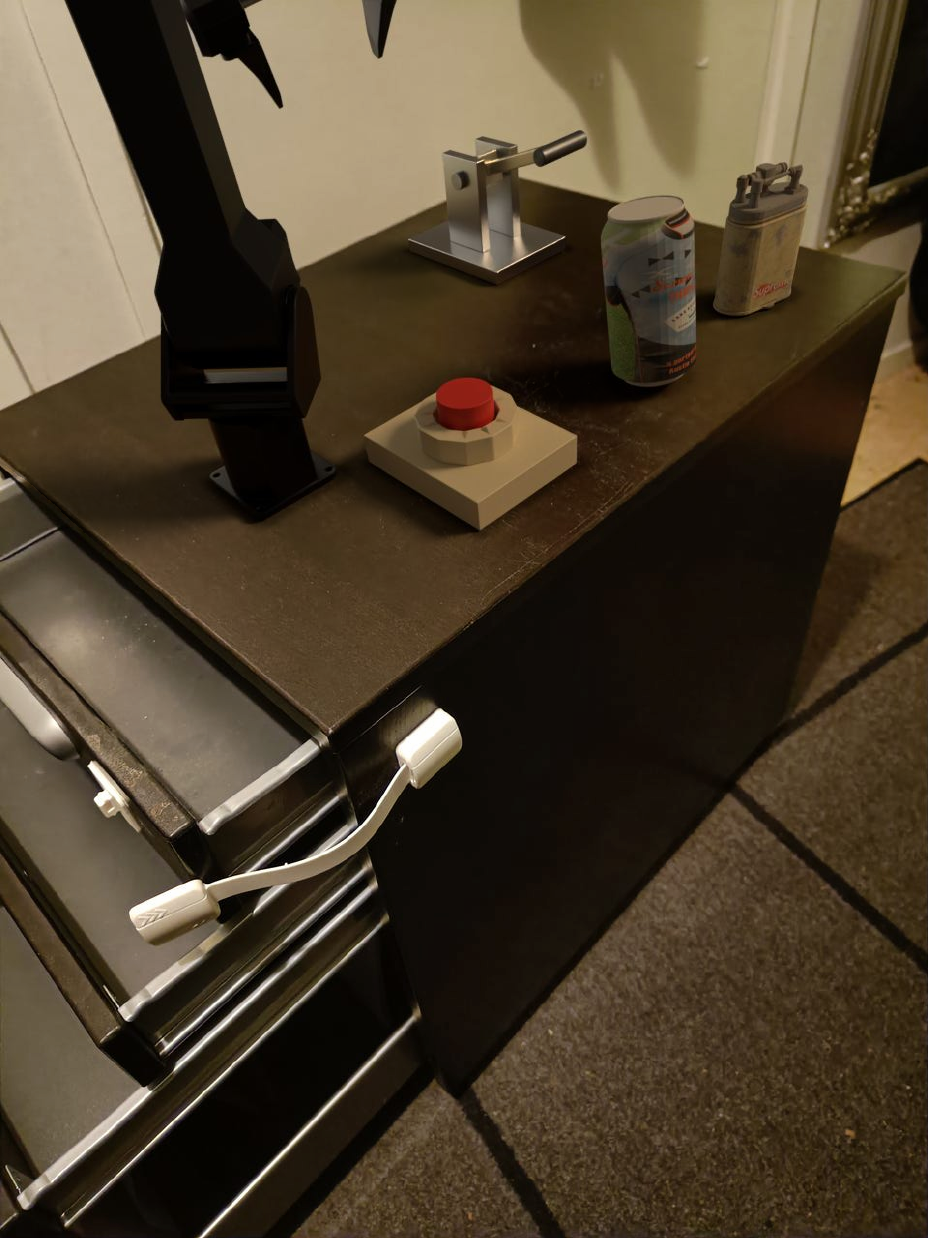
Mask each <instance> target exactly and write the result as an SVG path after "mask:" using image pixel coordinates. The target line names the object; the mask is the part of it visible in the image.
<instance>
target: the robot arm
mask: <svg viewBox="0 0 928 1238" xmlns="http://www.w3.org/2000/svg"><path fill="white" fill-rule="evenodd" d="M63 1H64V3H65V5H66V9H67V11H68V13H69V15H70V18H71V20H72V23H73V25H74V28H75V30H76V32H77V36H78V37H79V39H80V42H81V44H82V47H83V50H84V52H85V54H86V57H87V59H88V61H89V64H90V66H91V70H92V72H93V74H94V77H95V79H96V81H97V84H98V86H99V88H100V91H101V94H102V96H103V98H104V101H105V103H106V106H107V107H108V108H107V109H108V110H109V113H110V116H111V118H112V120H113V122H114V125H115V127H116V130H117V132H118V135H119V137H120V140H121V142H122V144H123V147H124V150H125V152H126V154H127V157H128V159H129V162H130V164H131V167H132V168H133V171H134V174H135V176H136V179H137V181H138V184H139V186H140V188H141V191H142V193H143V196H144V198H145V201H146V203H147V205H148V208H149V211H150V213H151V215H152V218H153V220H154V223H155V226H156V227H157V230H158V233H159V236H160V238H161V241H162V247H161V252H160V257H159V263H158V267H157V273H156V278H155V284H154V289H153V295H154V299H155V301H156V304H157V306H158V310H159V313H160V401H161V403H162V405H163V407H164V408H165V409H166V411H167V412H168V413H169V415H170V416H171V418H172V419H173V420H174V422H183V421H185V420H207V423H208V425H209V427H210V430H211V434H212V435H213V438H214V442H215V444H216V447H217V449H218V452H219V455H220V457H221V460H222V463H223V466H222V467H220V468H218V469H217V470H215V471H212V472H211V473H210V474H209V481H210V483H211V484H212V485H213V486H215V487H216V488H217V489H219V490H220V491H221V492H222V493H224V494H225V495H226V496H228V497H229V498H230V499H232V500H233V501H234V502H235V503H237V504H238V505H239V506H240V507H242V508H243V509H244V510H246V511H247V512H248V513H250V514H251V515H252V516H253V517H255V518H256V519H258V520H265V519H267V518H269V517H270V516H272V515H274V514H275V513H277V512H279V511H281V510H282V509H283V508H285V507H287V506H289V505H291V504H292V503H294V502H296V501H297V500H299V499H301V498H302V497H304V496H305V495H307V494H309V493H310V492H312V491H314V490H315V489H317V488H319V487H320V486H323V485H324V484H325V483H327V482H328V481H331V480H332V479H334V478H336V477H337V475H338V469H337V466H336V465H334V464H333V463H331V462H330V461H328V460H327V459H326V458H324V457H322V456H320V455H319V454H317V453H316V452H314V451H313V450H311V447H310V443H309V439H308V436H307V432H306V429H305V425H304V421H303V419H306V418H307V416H308V413H309V411H310V409H311V407H312V404H313V401H314V398H315V396H316V393H317V391H318V389H319V386H320V383H321V380H322V373H321V367H320V366H321V365H320V359H319V358H320V357H319V348H318V342H317V341H318V340H317V333H316V323H315V315H314V309H313V304H312V300H311V297H310V294H309V292H308V290H307V288H306V287H305V286H303V285H301V277H300V274H299V272H298V270H297V268H296V265H295V262H294V258H293V256H292V255H293V254H292V251H291V248H290V247H291V246H290V242H289V238H288V234H287V231H286V230H285V227H283V226H282V224H281V223H280V222H279V220H278V219H277V218H257V216H256V215H254V214H253V212H251V211H250V210H249V209H248V207H247V206H246V205H245V202H244V199H243V195H242V193H241V189H240V187H239V183H238V181H237V180H238V179H237V177H236V174H235V170H234V167H233V165H232V161H231V157H230V154H229V152H228V149H227V146H226V142H225V139H224V135H223V134H222V130H221V127H220V123H219V120H218V117H217V114H216V110H215V108H214V105H213V101H212V98H211V95H210V92H209V88H208V85H207V82H206V79H205V75H204V72H203V70H202V66H201V63H200V60H199V56H198V54H197V52H198V53H199V54H200V55H201V57H202V58H215V57H217V56H219V57H220V58H221V59H222V61H225V62H232V61H233V60H236V59H237V60H238V61H240V62H241V64H243V65H244V66H245V67H246V68H247V69H248V71H250V72H251V73H252V74H253V75H254V76H255V78H256V79H257V81H258V82H259V83H260V85H261V86H262V88H263V89H264V91H265V92H266V94H267V95H268V96H269V97H270V99H271V100H272V102H273V103H274V104H275V105H276V107H277V108H278V109H279V110H281V109H282V108H284V101H283V98H282V97H283V96H282V94H281V90H280V88H279V86H278V84H277V80H276V78H275V76H274V74H273V71H272V68H271V66H270V63H269V61H268V59H267V56H266V54H265V51H264V49H263V46H262V44H261V41H260V39H259V38H258V37H257V35H256V34H255V33H254V32H253V30H252V29H251V28H250V27H251V24H250V21H249V19H248V15H247V11H246V9H247V8H249V7H252V6H254V5H255V4H257V3H259V2H262V1H263V0H63ZM361 2H362V10H363V16H364V20H365V27H366V33H367V37H368V41H369V44H370V47H371V51H372V54H373V55H374V56H375V58H376V59H378V60H380V59H382V58H383V56H384V52H385V47H386V43H387V40H388V35H389V30H390V26H391V22H392V18H393V14H394V10H395V8H396V4H397V2H398V0H361ZM278 368H279V369H280V368H281V369H282V368H286V370H273V371H271V370H269V371H237V372H235V371H233V372H205V371H206V370H207V371H208V370H240V369H241V370H242V369H244V370H245V369H246V370H247V369H278Z"/></svg>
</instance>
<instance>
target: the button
mask: <svg viewBox="0 0 928 1238" xmlns="http://www.w3.org/2000/svg"><path fill="white" fill-rule="evenodd" d="M491 386H492V385H491V384H490V383H489V382H487V381H485V380H483V379H481V378H476V377H460V378H454V379H452V380H449V381H447V382H445V383H443V384H441V386H440V387H439V388H438V389H437V390H436V392H435V393H436V402H437V410H438V418H439V422H440V424H441V425H442V426H443V427H445V428H446V429H448V430H456V431H468V430H473V429H478V428H482V427H484V426H486V425H487V424H489V423H491V422H492V420H493V418H494V401H493V389H492V387H491Z"/></svg>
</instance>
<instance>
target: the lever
mask: <svg viewBox="0 0 928 1238" xmlns="http://www.w3.org/2000/svg"><path fill="white" fill-rule="evenodd" d="M587 143H588V137H587V135H586V133H585V131H584V130H582V129H578V130H576V131H574V132H571V133H569V134H566V135H564V136H562V137H560V138H558V139H556V140H555V139H554V141H551V142H549V143H547V144H544V145H540V146H537V147H534V148H530V149H527V150H524V151H523V150H522V151H520V152H518V153H516V154H513V155H509V156H506V157H503V158H499V159H498V156H497V152H496V150H492V151H489V152H486V153H483V154H480V155H476V154H475V155H473V156H474V157H478V158H481V159H484V160H485V174H486V187H487V186H489V185H491V184H494V183H496V182H498V181H500V180H502V179H504V178H503V174H502V172H505V171H509V170H513V169H516V168H518V169H521V168H524V167H527V166H530V165H535V166H537V167H538V168H542V167H545V166H547V165H549V164H552V163H553V162H556V161H558V160H561V159H562V158H565V157H567V156H569V155H571V154H573V153H575V152H577V151H580V150H582V149H584V148H585V147H587Z"/></svg>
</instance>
